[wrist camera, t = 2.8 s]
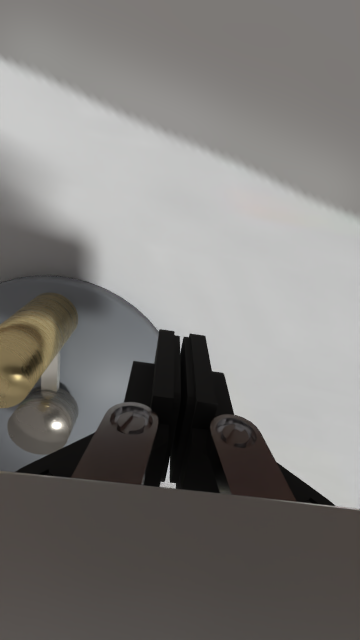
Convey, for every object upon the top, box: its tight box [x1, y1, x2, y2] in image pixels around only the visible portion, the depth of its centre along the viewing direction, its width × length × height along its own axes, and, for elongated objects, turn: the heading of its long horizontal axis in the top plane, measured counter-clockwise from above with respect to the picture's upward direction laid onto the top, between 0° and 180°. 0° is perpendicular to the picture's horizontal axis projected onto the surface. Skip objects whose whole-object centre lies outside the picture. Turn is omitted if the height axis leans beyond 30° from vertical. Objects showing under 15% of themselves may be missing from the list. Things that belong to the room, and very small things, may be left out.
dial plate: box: [0, 276, 159, 472], centre depth 19 cm, size 14×14×2 cm
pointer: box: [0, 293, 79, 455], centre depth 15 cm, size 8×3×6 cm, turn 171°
